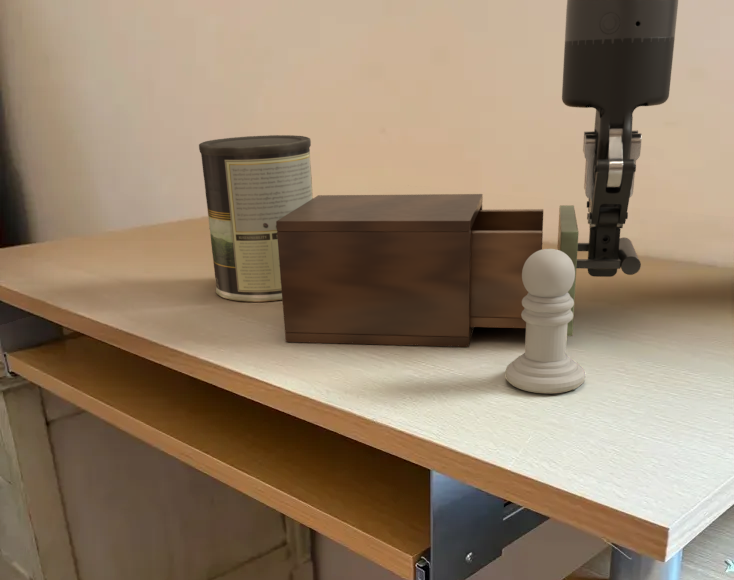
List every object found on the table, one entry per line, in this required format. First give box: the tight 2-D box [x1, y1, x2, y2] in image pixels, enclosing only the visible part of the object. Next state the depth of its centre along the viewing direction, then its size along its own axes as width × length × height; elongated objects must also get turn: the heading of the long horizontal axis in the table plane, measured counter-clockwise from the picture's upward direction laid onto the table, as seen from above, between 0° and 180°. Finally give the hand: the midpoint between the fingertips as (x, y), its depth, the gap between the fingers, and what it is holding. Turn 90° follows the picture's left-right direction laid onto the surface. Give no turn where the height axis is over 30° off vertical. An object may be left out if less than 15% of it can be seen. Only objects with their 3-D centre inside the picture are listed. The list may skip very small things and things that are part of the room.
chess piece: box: [504, 248, 587, 394], centre depth 54 cm, size 5×5×9 cm
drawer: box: [470, 204, 642, 337], centre depth 66 cm, size 18×11×8 cm, turn 79°
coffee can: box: [198, 134, 314, 303], centre depth 79 cm, size 10×10×14 cm
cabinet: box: [276, 193, 484, 348], centre depth 69 cm, size 15×13×10 cm
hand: (601, 274), depth 65 cm, fingers closed
